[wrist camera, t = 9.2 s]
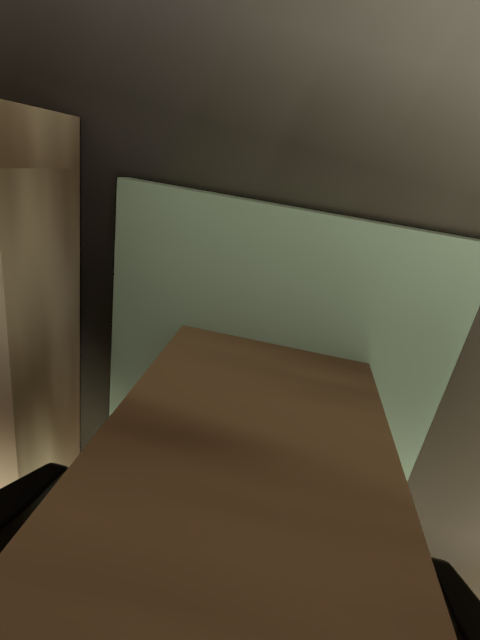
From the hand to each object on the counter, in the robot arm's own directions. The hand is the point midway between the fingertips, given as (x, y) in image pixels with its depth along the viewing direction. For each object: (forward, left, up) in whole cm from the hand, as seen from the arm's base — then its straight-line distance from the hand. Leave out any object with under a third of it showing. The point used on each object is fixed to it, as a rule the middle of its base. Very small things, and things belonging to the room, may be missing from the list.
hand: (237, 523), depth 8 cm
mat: (0, 0, -4) cm, 4 cm away
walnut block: (0, 0, -4) cm, 4 cm away
